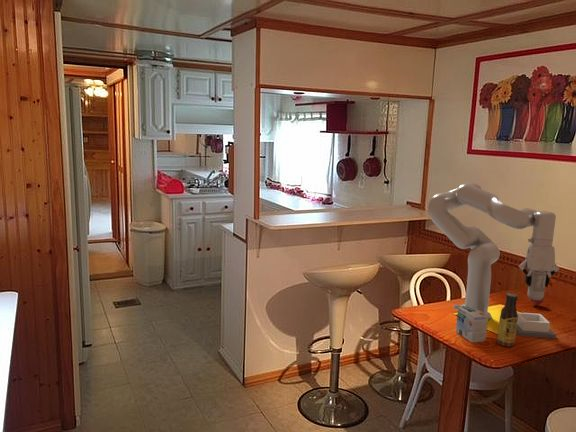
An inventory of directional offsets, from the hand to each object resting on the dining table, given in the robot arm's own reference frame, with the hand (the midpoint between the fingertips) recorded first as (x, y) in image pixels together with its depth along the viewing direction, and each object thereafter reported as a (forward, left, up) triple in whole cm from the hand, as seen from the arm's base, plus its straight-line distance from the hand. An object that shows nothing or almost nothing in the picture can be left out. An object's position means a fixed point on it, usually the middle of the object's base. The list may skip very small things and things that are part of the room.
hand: (536, 285), depth 204 cm
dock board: (0, 0, -19) cm, 19 cm away
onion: (+13, +31, -20) cm, 39 cm away
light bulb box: (-27, -11, -20) cm, 35 cm away
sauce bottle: (-15, -16, -20) cm, 29 cm away
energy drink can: (0, 0, -6) cm, 6 cm away
